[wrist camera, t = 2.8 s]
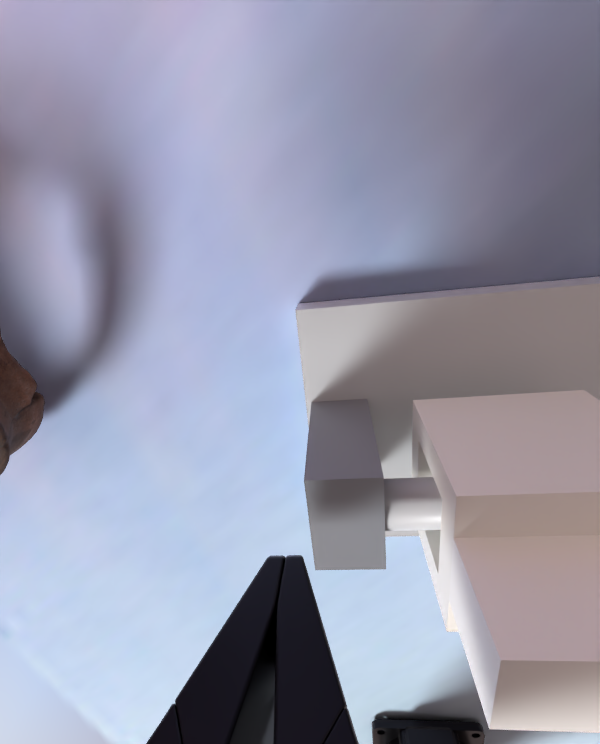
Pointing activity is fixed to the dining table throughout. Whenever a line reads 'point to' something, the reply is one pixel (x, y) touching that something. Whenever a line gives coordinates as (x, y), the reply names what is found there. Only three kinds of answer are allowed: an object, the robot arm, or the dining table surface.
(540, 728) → the white slider block
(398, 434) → the slider rail board
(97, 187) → the dining table surface
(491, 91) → the dining table surface
